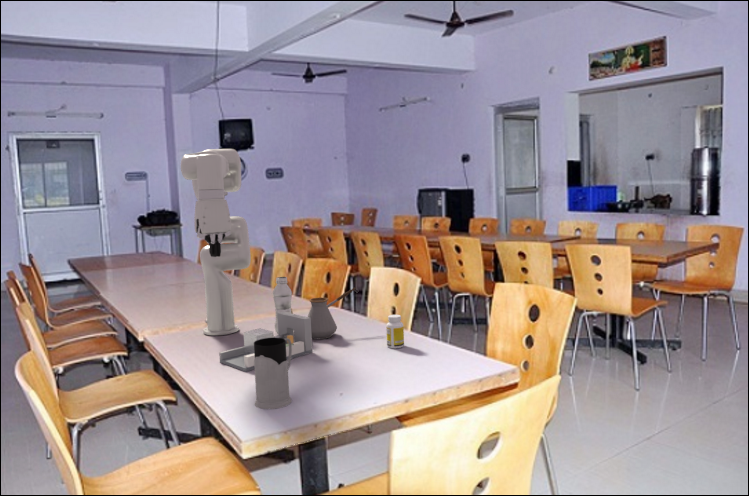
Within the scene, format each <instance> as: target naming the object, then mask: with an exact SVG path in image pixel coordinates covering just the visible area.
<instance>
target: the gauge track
mask: <svg viewBox="0 0 749 496" xmlns="http://www.w3.org/2000/svg"><path fill="white" fill-rule="evenodd" d="M277 315H278V332H279V334H278V335H282V334H286V333H289V334H290V335H292V336H293V342H294V343H291V345H292V355H291V360H292V359H295V358H299V357H302V356H305V355H309V354H313V339H312V333H311V318H310V317H308V316H305V315H300V314H297V313H296V314H294V313H293V314H292V313H287V312H280V313H277ZM293 329H294V331H293ZM218 354H219V363H221V364H224V365H226V366H228V367H232V368H234V369H237V370H240V371H242V372H244V373H246V372H250V371H253V370H254V371H255V367H254V359H255V354H250V355H245V350H244V345H243V346H241V347H235V348H232V349H228V350H224V351H221V352H218ZM288 357H289V343H287V340H286V358H287V361H288Z"/></svg>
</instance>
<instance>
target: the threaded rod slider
mask: <svg viewBox="0 0 749 496" xmlns="http://www.w3.org/2000/svg"><path fill="white" fill-rule="evenodd" d="M242 334H243V346H244V350H245V355H250V354H254V342H255V341H257V340H260V339H264V338H283V339H285V338H287V336H289V335H290V334H289V333H286V334H282V335H279V334H277V335H275V334H274V331H272V330H267V329H266V328H262V327H261V328H256V329H251V330H247V331H246V330H245V331H243V333H242Z"/></svg>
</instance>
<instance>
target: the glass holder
mask: <svg viewBox="0 0 749 496" xmlns="http://www.w3.org/2000/svg"><path fill="white" fill-rule="evenodd" d="M286 340H288V343H289V357H288V360H287V358H286ZM254 354H255V359H254V367H255V369H254V378H255V379H254V380H255V383H254V384H255V394H256V396H255V401H254V406H255V407H256V408H258V409H260V410H261V409H262V410H276V409H280V408H284V407H286V406H289V405H290V404H291V403H292V401H293V400H292V398H291V397H290V396H291V395H290V383H289V382H290V381H289V369H290V367H291V361H292V359H291V355H292V345H291V341H290V339H288V338H285V339H283V338H264V339H260V340H257V341H255V342H254Z"/></svg>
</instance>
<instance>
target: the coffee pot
mask: <svg viewBox="0 0 749 496" xmlns="http://www.w3.org/2000/svg"><path fill="white" fill-rule="evenodd" d="M357 291H359V289H358V288H357V287H353V288H351V289H349V290H348V291H345V292H344V293H343V294H341V295H339V296H338V297H337V298H336V299H334V300H333V301H331V302H329V303H328V301H329V298H328V297H313V298H310V299H309V303H310V304H311V306H310V309H309V312H308V315H307V317H310V318H311V333H312V340H322V339H323V340H324V339H328V338H331V337H332V336H333V335H334V334H335V333H336V332H337V329H338V326H337V324H336V321H335V320H334V317H333V315H332V313H331V311H330V309H329V308H330V307H331V306H333V305H334V304H335V303H337V302H339V301H341V300H342V299H344V298H346V297H348V295H350V293H351V294H352V293H353V292H356V293H357Z"/></svg>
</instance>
